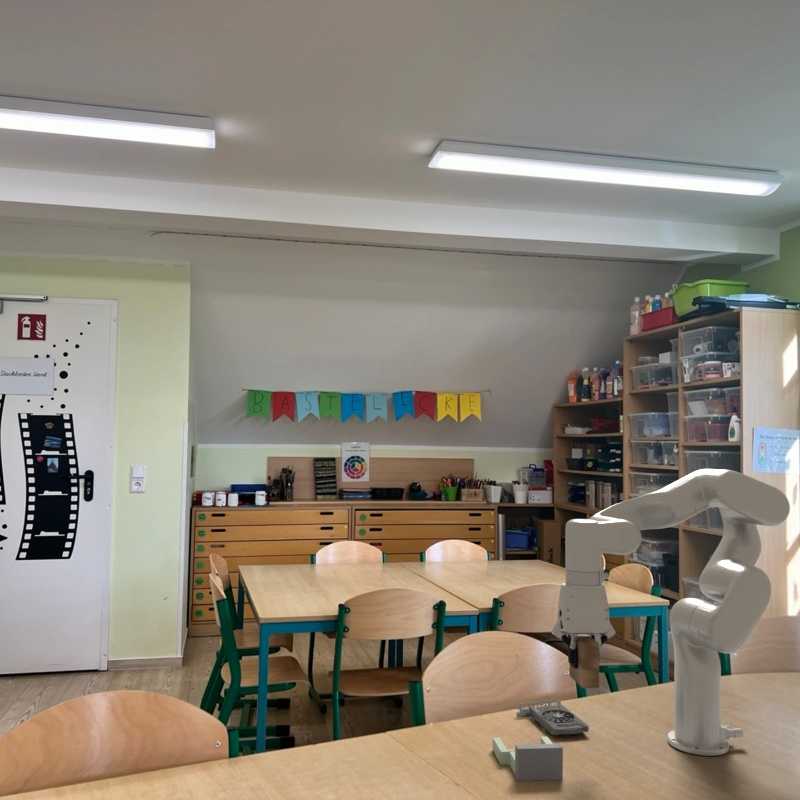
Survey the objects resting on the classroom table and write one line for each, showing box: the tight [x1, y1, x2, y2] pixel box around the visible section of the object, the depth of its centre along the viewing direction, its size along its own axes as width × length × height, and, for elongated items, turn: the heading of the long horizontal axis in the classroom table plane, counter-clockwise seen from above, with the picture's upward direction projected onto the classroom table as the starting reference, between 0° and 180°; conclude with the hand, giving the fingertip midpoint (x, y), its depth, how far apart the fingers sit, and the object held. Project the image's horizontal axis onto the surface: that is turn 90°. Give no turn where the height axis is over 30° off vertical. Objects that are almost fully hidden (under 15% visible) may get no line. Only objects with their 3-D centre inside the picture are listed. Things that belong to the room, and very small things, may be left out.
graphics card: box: [515, 699, 590, 737], centre depth 174 cm, size 17×4×12 cm
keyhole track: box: [492, 736, 564, 782], centre depth 152 cm, size 12×15×6 cm
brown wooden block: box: [569, 634, 600, 689], centre depth 156 cm, size 4×8×9 cm, turn 6°
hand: (583, 665), depth 156 cm, fingers closed on brown wooden block, 3 cm apart
